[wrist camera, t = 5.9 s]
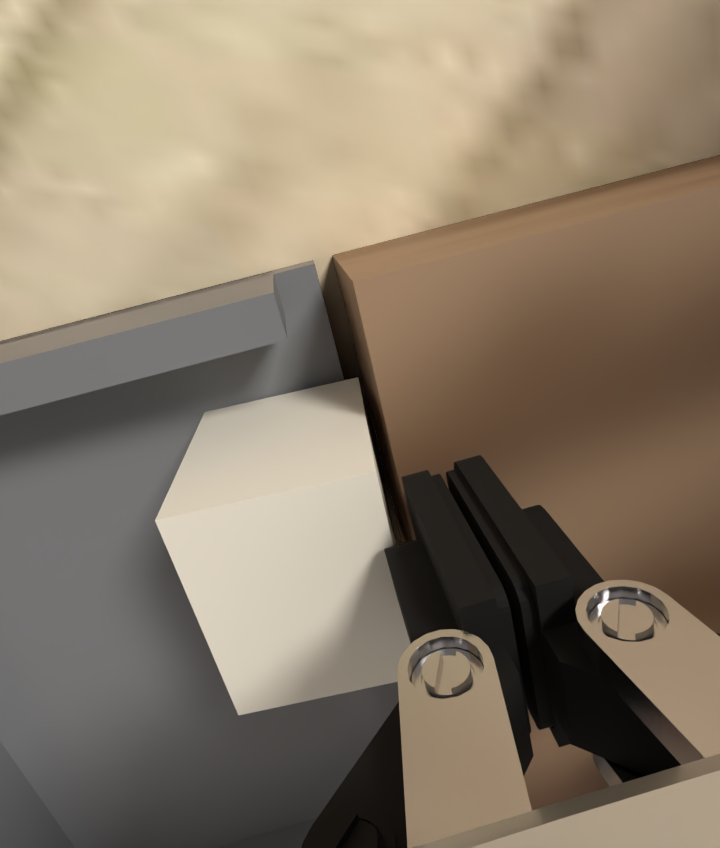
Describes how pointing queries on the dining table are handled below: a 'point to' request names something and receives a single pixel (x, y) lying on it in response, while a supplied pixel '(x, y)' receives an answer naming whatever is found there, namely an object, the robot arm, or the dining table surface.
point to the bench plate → (563, 381)
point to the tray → (146, 584)
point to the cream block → (288, 547)
